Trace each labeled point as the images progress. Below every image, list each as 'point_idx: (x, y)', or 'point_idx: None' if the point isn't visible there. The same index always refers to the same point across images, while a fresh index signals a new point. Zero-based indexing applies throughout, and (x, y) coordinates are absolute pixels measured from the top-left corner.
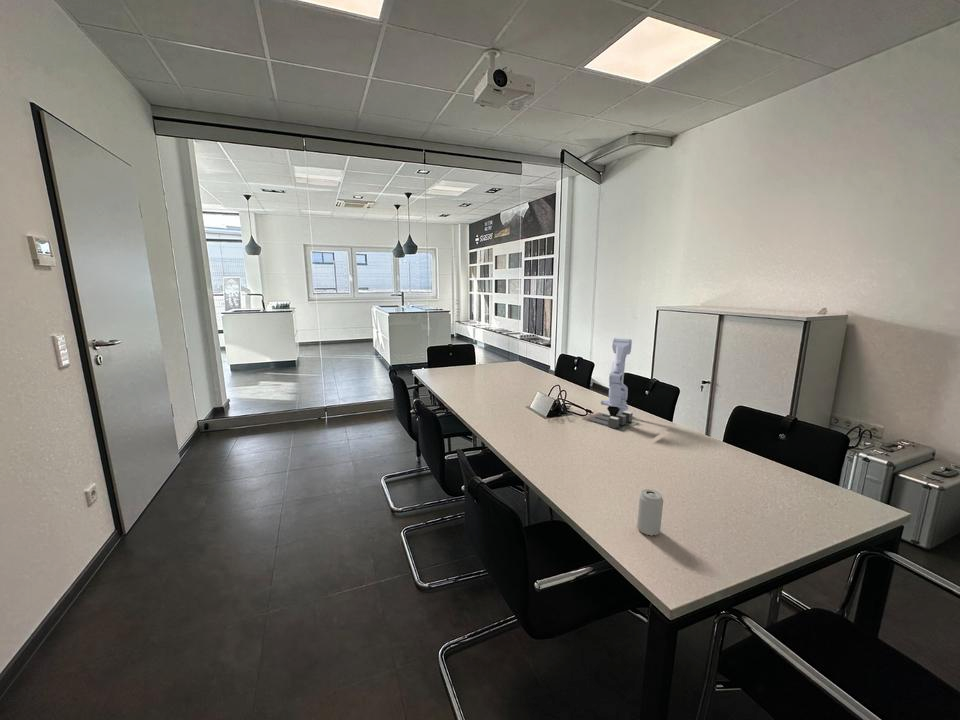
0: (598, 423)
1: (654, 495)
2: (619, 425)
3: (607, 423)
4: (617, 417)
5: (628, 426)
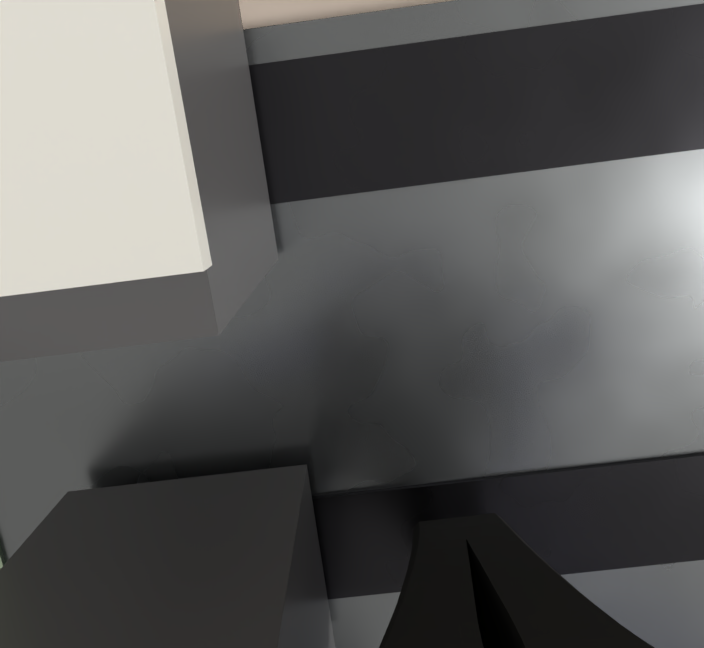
0: (672, 11)
1: None
2: (148, 448)
3: (479, 298)
4: (194, 613)
5: None
